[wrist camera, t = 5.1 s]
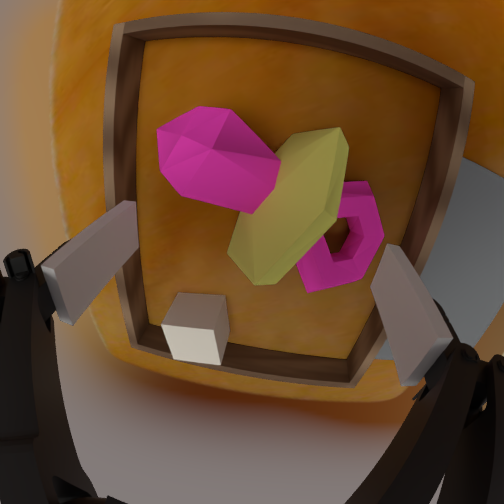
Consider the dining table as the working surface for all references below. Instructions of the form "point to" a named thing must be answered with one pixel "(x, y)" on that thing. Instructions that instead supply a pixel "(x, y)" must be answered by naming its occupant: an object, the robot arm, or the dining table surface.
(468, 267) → the mat
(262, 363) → the brown wooden frame
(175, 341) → the cream block
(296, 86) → the dining table surface
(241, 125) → the toy
